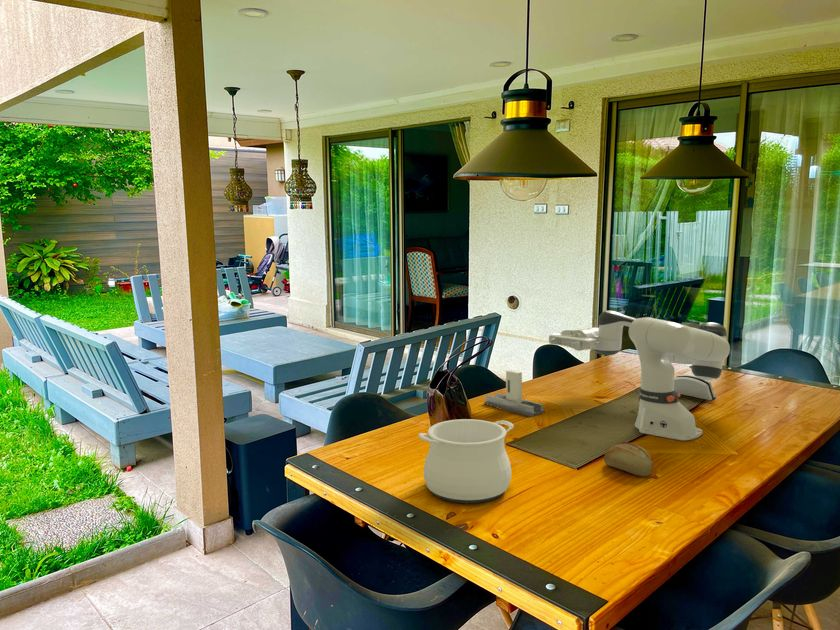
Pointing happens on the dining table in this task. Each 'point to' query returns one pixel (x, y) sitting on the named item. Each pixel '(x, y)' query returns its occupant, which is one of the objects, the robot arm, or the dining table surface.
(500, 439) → the pot
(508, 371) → the white rectangular block
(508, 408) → the track
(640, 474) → the bread roll
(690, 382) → the white curved block
